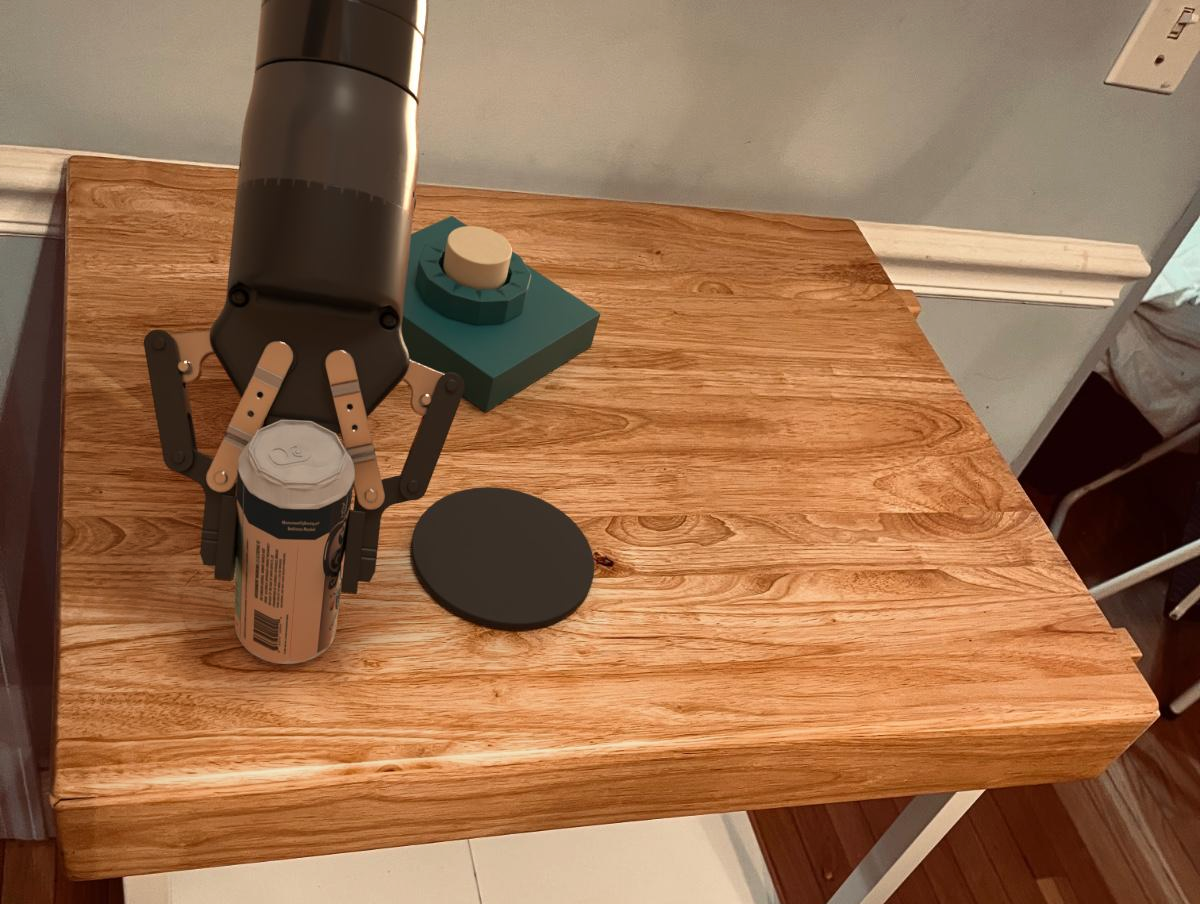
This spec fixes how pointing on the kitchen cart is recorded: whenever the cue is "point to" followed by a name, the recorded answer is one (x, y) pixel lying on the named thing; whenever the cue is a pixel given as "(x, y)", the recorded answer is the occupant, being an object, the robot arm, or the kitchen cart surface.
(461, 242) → the button
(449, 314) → the push button base
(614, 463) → the kitchen cart surface
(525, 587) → the coaster
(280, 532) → the beer can
